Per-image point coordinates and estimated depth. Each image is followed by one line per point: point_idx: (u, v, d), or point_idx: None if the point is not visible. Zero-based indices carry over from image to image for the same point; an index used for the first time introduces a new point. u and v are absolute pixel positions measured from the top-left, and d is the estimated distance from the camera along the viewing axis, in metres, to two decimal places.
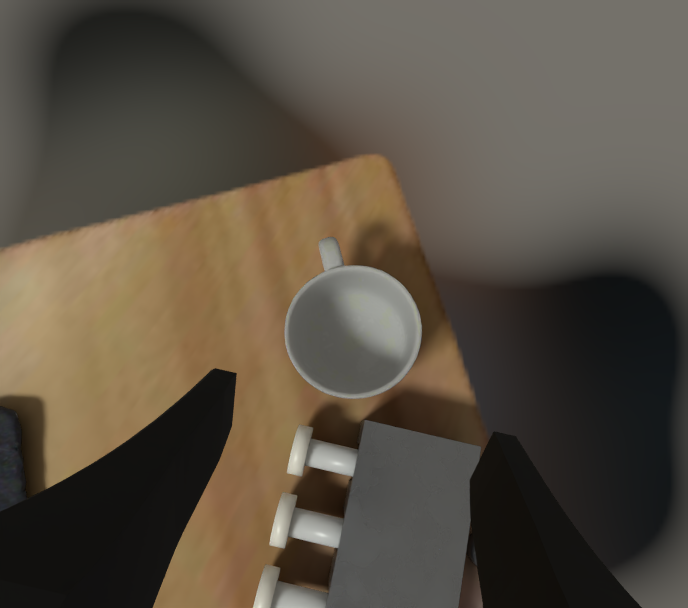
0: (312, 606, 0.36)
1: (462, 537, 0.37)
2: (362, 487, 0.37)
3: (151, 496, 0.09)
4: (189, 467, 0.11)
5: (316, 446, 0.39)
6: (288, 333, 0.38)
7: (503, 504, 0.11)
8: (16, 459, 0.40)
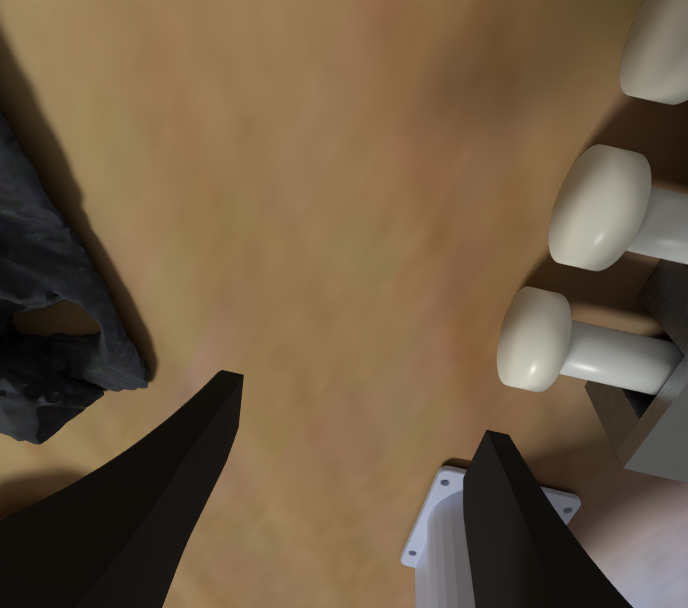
0: (635, 370, 0.18)
1: None
2: None
3: (161, 498, 0.09)
4: (198, 469, 0.11)
5: None
6: None
7: (495, 502, 0.11)
8: None
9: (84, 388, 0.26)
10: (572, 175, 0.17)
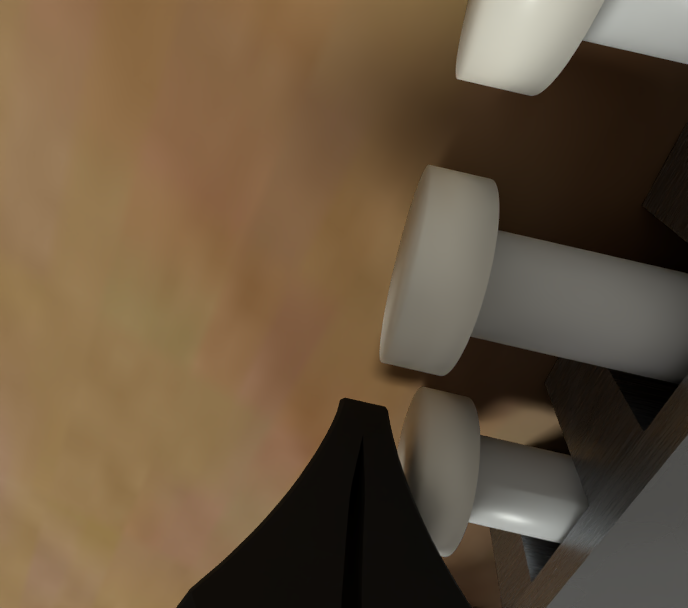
0: None
1: None
2: None
3: (345, 541, 0.09)
4: None
5: None
6: None
7: (356, 471, 0.11)
8: None
9: None
10: (411, 211, 0.11)
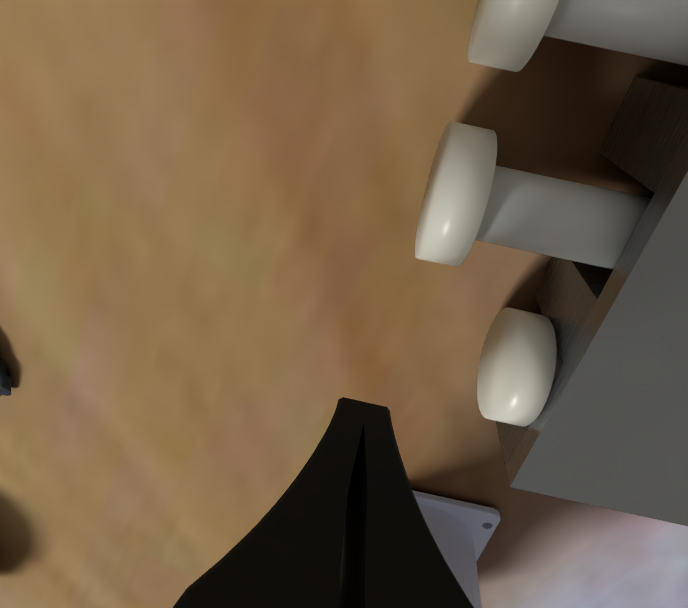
0: None
1: None
2: None
3: (342, 540, 0.09)
4: None
5: None
6: None
7: (358, 471, 0.11)
8: None
9: None
10: (435, 158, 0.15)
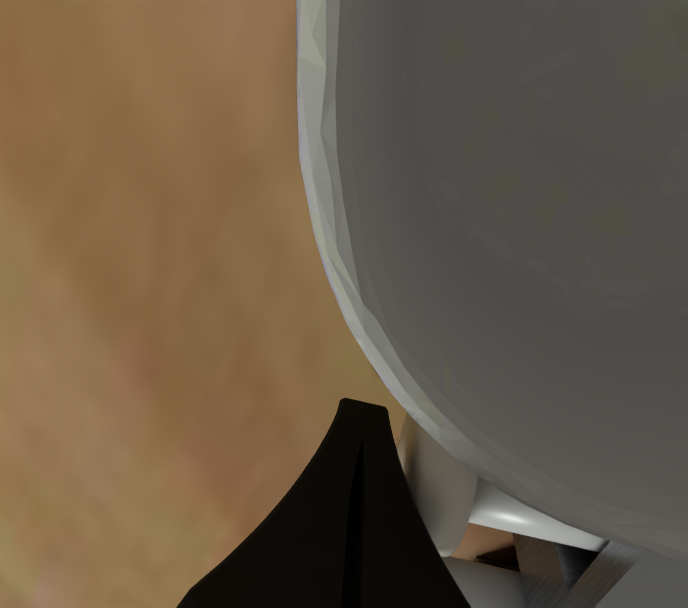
0: None
1: None
2: None
3: (344, 540, 0.09)
4: None
5: (489, 492, 0.11)
6: (335, 160, 0.04)
7: (356, 471, 0.11)
8: None
9: None
10: None
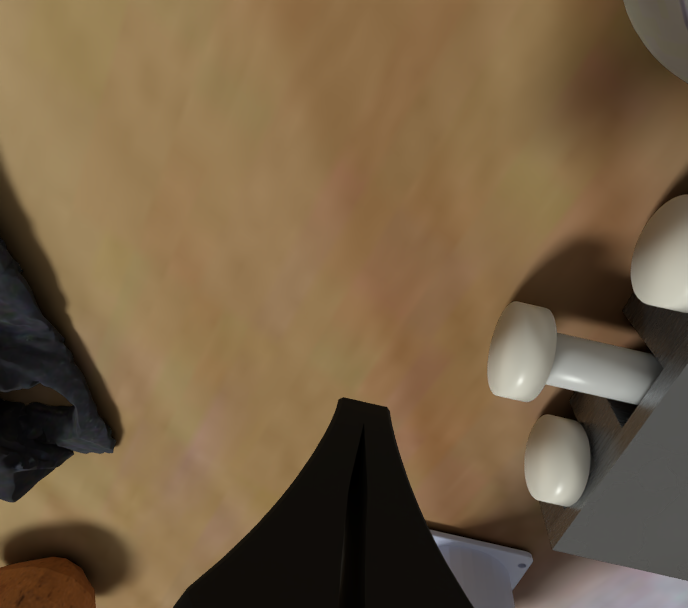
0: None
1: None
2: None
3: (342, 540, 0.09)
4: None
5: None
6: None
7: (358, 471, 0.11)
8: None
9: (57, 451, 0.29)
10: (504, 317, 0.21)
